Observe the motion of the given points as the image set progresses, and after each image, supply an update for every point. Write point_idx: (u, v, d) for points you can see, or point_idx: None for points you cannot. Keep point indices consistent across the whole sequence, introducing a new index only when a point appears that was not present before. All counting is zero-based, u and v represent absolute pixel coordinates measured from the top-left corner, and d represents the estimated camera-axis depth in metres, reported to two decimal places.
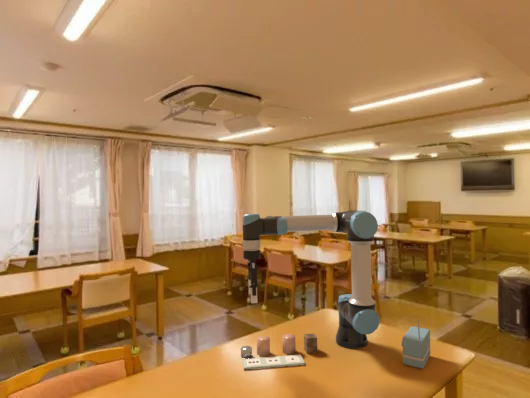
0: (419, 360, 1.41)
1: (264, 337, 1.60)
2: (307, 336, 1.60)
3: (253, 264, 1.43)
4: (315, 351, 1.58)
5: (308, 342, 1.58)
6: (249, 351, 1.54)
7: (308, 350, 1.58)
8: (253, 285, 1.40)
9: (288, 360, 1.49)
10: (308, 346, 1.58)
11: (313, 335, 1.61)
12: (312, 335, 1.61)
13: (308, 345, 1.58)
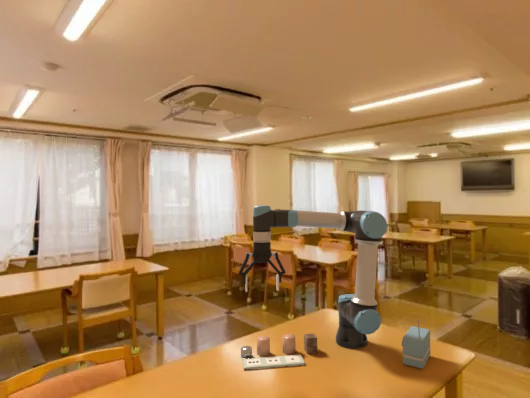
0: (419, 360, 1.41)
1: (264, 337, 1.60)
2: (307, 336, 1.60)
3: (246, 254, 1.48)
4: (315, 351, 1.58)
5: (308, 342, 1.58)
6: (249, 351, 1.54)
7: (308, 350, 1.58)
8: (238, 272, 1.48)
9: (288, 360, 1.49)
10: (308, 346, 1.58)
11: (313, 335, 1.61)
12: (312, 335, 1.61)
13: (308, 345, 1.58)
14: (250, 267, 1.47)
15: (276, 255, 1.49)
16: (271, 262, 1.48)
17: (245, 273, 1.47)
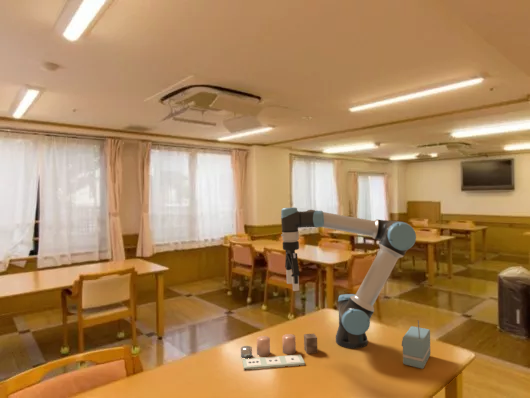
0: (419, 360, 1.41)
1: (264, 337, 1.60)
2: (307, 336, 1.60)
3: (294, 254, 1.53)
4: (315, 351, 1.58)
5: (308, 342, 1.58)
6: (249, 351, 1.54)
7: (308, 350, 1.58)
8: (295, 274, 1.50)
9: (288, 360, 1.49)
10: (308, 346, 1.58)
11: (313, 335, 1.61)
12: (312, 335, 1.61)
13: (308, 345, 1.58)
14: None
15: None
16: None
17: None
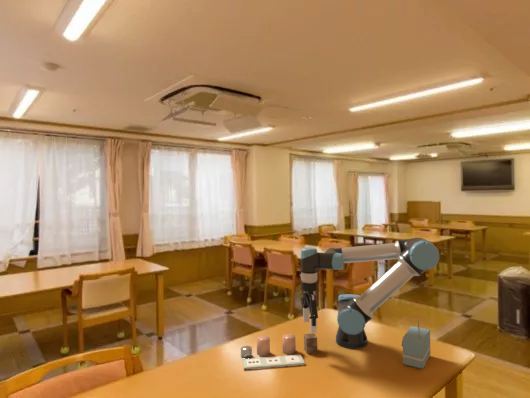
0: (419, 360, 1.41)
1: (264, 337, 1.60)
2: (307, 336, 1.60)
3: (313, 296, 1.54)
4: (315, 351, 1.58)
5: (308, 342, 1.58)
6: (249, 351, 1.54)
7: (308, 350, 1.58)
8: (314, 316, 1.51)
9: (288, 360, 1.49)
10: (308, 346, 1.58)
11: (313, 335, 1.61)
12: (312, 335, 1.61)
13: (308, 345, 1.58)
14: None
15: None
16: None
17: None
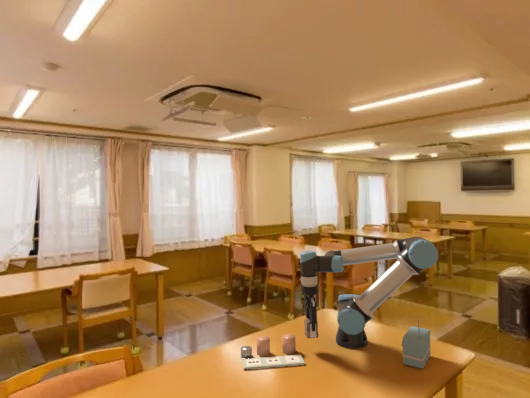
0: (419, 360, 1.41)
1: (264, 337, 1.60)
2: (307, 321, 1.60)
3: (313, 303, 1.54)
4: (316, 336, 1.58)
5: (308, 327, 1.58)
6: (249, 351, 1.54)
7: (309, 335, 1.58)
8: (313, 322, 1.55)
9: (288, 360, 1.49)
10: (309, 331, 1.58)
11: None
12: None
13: (309, 330, 1.58)
14: None
15: None
16: None
17: None
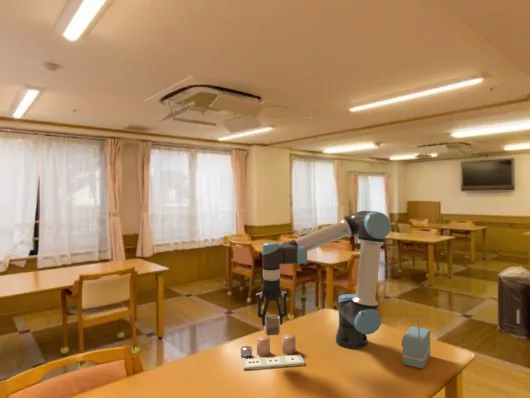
0: (419, 360, 1.41)
1: (264, 337, 1.60)
2: (270, 315, 1.51)
3: None
4: None
5: None
6: (249, 351, 1.54)
7: None
8: None
9: (288, 360, 1.49)
10: None
11: (273, 317, 1.48)
12: (273, 317, 1.49)
13: None
14: (265, 307, 1.48)
15: (285, 295, 1.49)
16: (278, 302, 1.48)
17: (264, 315, 1.48)
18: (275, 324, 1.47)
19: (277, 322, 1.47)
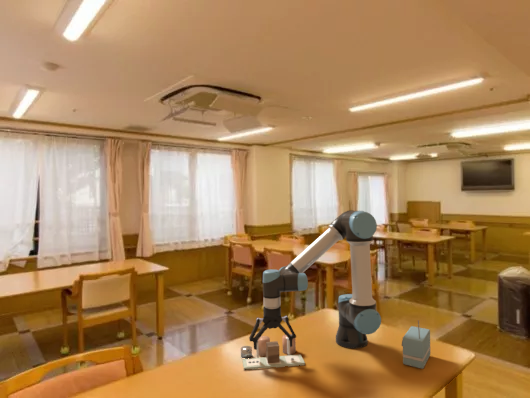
0: (419, 360, 1.41)
1: (264, 337, 1.60)
2: (270, 342, 1.51)
3: (256, 319, 1.49)
4: (267, 360, 1.48)
5: (266, 347, 1.51)
6: (249, 351, 1.54)
7: (266, 355, 1.51)
8: (249, 338, 1.49)
9: (288, 360, 1.49)
10: (266, 351, 1.51)
11: (273, 345, 1.48)
12: (273, 344, 1.49)
13: (266, 350, 1.51)
14: (261, 333, 1.48)
15: (286, 320, 1.49)
16: (282, 327, 1.48)
17: (256, 339, 1.47)
18: (276, 351, 1.47)
19: (278, 350, 1.47)
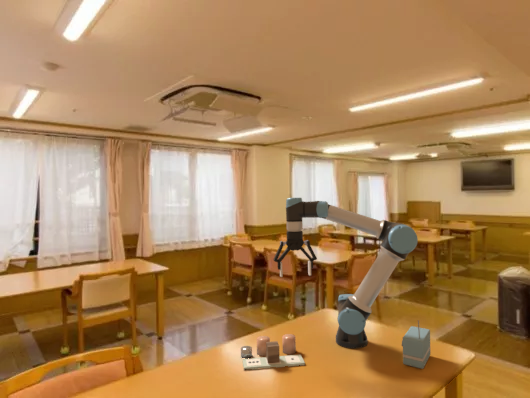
0: (419, 360, 1.41)
1: (264, 337, 1.60)
2: (270, 342, 1.51)
3: (280, 242, 1.61)
4: (267, 360, 1.48)
5: (266, 347, 1.51)
6: (249, 351, 1.54)
7: (266, 355, 1.51)
8: (274, 259, 1.61)
9: (288, 360, 1.49)
10: (266, 351, 1.51)
11: (273, 345, 1.48)
12: (273, 344, 1.49)
13: (266, 350, 1.51)
14: (284, 254, 1.60)
15: (308, 243, 1.62)
16: (303, 249, 1.61)
17: (280, 260, 1.60)
18: (276, 351, 1.47)
19: (278, 350, 1.47)
